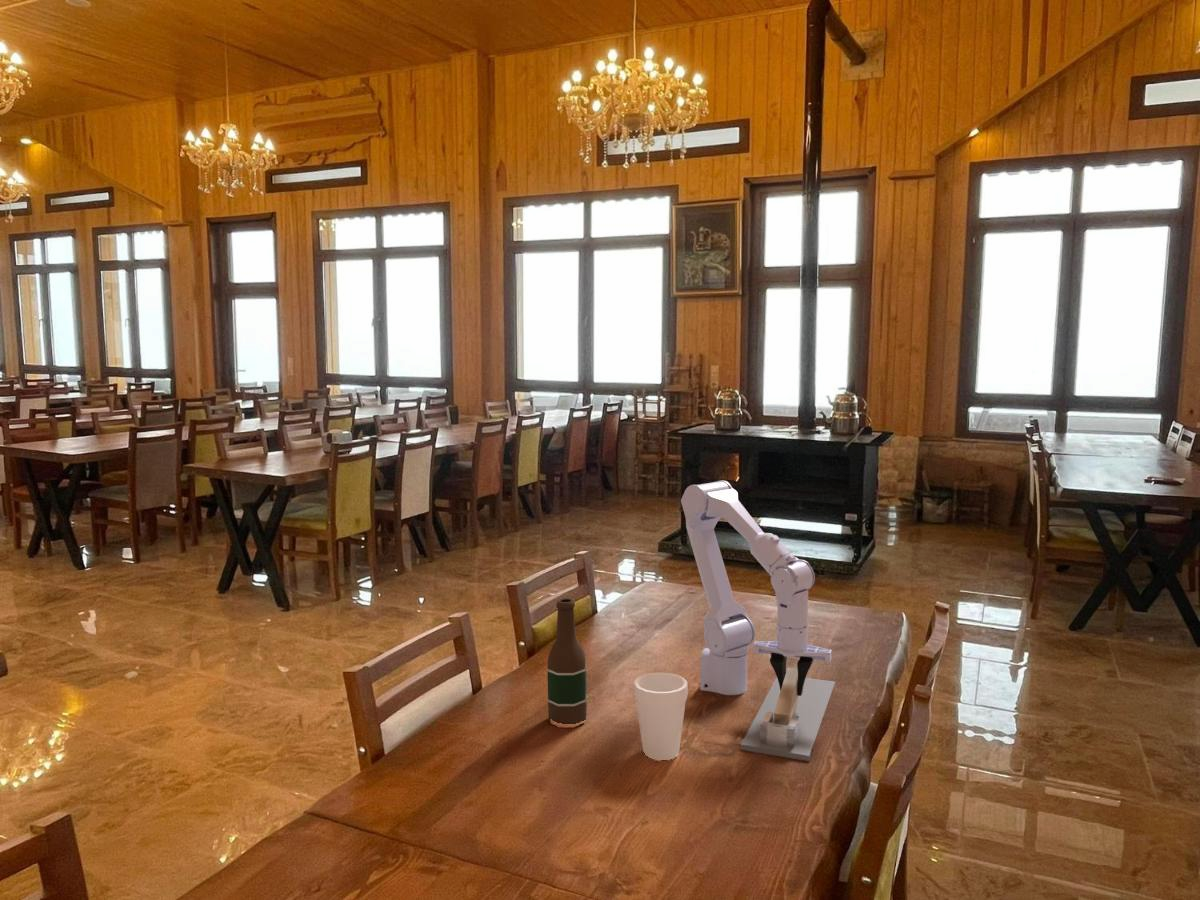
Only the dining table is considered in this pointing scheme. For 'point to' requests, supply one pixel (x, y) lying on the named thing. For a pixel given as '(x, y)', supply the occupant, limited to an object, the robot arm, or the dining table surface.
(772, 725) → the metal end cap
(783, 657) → the robot arm
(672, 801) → the dining table surface
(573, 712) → the beer bottle
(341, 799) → the dining table surface
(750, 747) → the assembly board
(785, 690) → the birch slat
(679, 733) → the foam cup
